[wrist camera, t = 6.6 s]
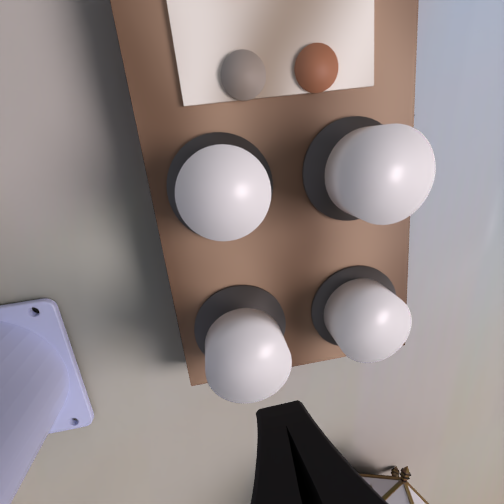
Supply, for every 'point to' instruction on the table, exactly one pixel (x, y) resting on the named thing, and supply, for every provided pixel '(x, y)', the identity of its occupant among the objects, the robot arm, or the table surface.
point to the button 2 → (246, 356)
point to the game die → (395, 487)
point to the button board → (269, 148)
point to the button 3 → (380, 173)
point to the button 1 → (223, 192)
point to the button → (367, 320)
